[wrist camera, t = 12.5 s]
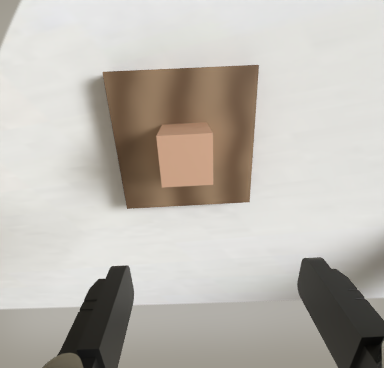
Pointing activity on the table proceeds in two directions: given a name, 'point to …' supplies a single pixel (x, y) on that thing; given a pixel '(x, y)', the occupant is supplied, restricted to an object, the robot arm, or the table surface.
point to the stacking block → (185, 154)
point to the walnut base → (180, 114)
